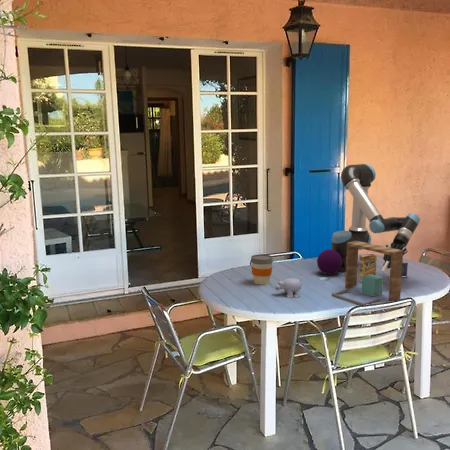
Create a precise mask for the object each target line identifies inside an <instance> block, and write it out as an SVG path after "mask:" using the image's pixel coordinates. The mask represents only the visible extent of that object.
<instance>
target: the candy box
mask: <svg viewBox="0 0 450 450" xmlns="http://www.w3.org/2000/svg"><path fill="white" fill-rule="evenodd" d="M377 257H378V256H377V255H376V254H374V253H369V254H359V261H358V263H359V265H358V281H359V282H361V283H362V276H366V275H369V274H372V275H375V276H377V275H376V274H377Z"/></svg>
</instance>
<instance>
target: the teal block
mask: <svg viewBox="0 0 450 450" xmlns="http://www.w3.org/2000/svg"><path fill="white" fill-rule="evenodd" d="M383 282H384V277H382V276H378V275H376V276H375V275H372V274H369V275H366V276H362V282H361V292H362V293H361V294H364V293H365V295H368V296H371V297H376V296H379V294H380V295H382V294H383V284H384V283H383Z"/></svg>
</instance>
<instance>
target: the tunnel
mask: <svg viewBox="0 0 450 450" xmlns="http://www.w3.org/2000/svg"><path fill="white" fill-rule="evenodd" d="M358 248H360V249H362V250H365V251H371V252H375V253H378V254H383V255H384V254H387V255H391V264H390V268H389V281H388V282H389V285H388V299H387V300H388V302H389V301H392V302H394V301H393V300H395V301H398V300H400V299H401V294H402V293H401V289H402V278H401V277H402V262H404V261H403V259H404V255H403V250H398V249H393V248H389V247H386V246H384V245H379V244H374V243H365V242H360V241H353V242H348V243H347V254H346V272H345V285H344V288H345V289H351V288H354V287H357V286H356V285H358V282H357V281H358V267H359V265H358V263H359V261H358V260H359V250H358ZM353 286H354V287H353ZM350 287H351V288H350ZM397 299H398V300H397Z"/></svg>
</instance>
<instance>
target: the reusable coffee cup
mask: <svg viewBox="0 0 450 450" xmlns="http://www.w3.org/2000/svg"><path fill="white" fill-rule="evenodd" d="M250 262H251V266H250V267H251V268H250V269H251V274H252V276H253V283H254V284H255V285H260V286H261V285H263V286H264V285H268V284H270V282H271V276H272V273H273V263H274V259H273V256H272V255H270V254H263V253H262V254H261V253H259V254H258V253H257V254H254V255H251V257H250Z"/></svg>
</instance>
